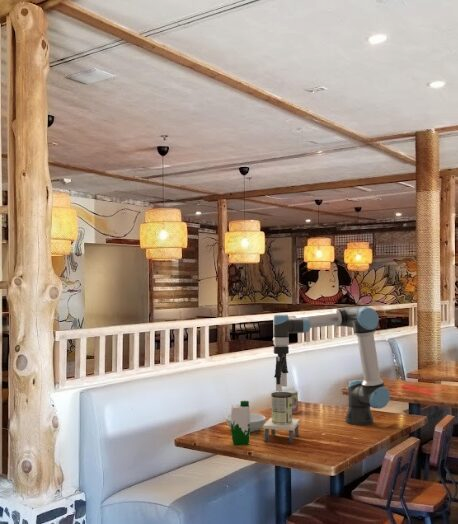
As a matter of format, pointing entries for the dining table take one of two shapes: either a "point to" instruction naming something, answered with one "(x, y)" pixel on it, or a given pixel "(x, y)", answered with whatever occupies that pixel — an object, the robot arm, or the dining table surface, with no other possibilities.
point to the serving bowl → (252, 421)
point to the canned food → (293, 399)
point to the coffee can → (281, 408)
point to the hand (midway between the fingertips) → (281, 388)
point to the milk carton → (240, 423)
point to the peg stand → (290, 427)
